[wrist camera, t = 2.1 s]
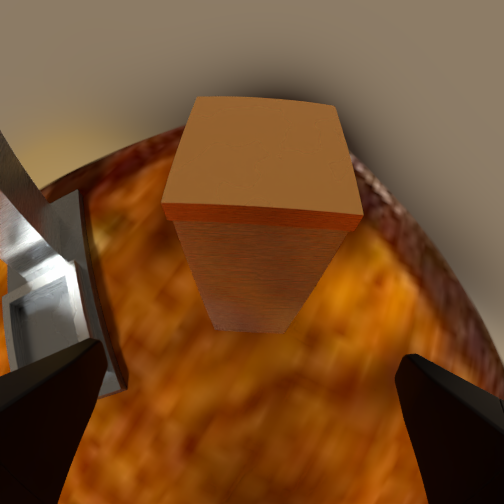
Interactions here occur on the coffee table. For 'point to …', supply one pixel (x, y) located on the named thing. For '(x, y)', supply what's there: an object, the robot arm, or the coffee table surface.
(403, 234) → the coffee table surface
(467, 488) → the robot arm
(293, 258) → the post
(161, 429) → the coffee table surface
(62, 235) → the housing
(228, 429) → the coffee table surface
